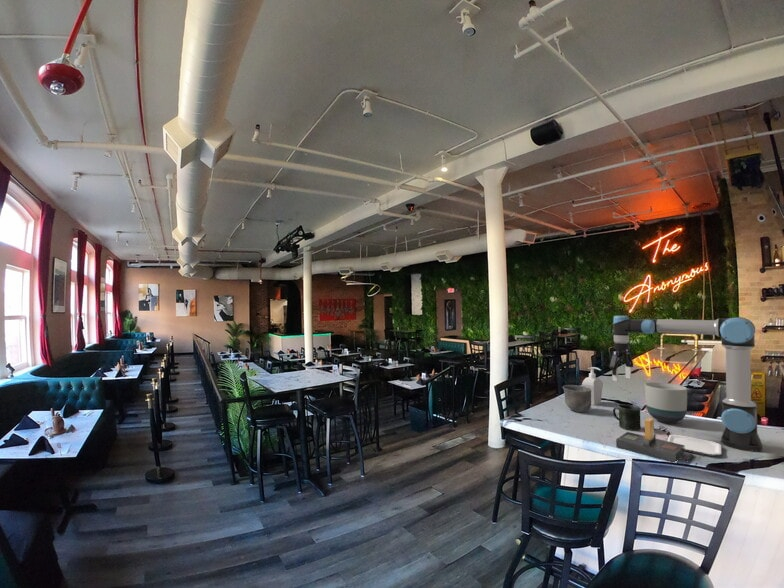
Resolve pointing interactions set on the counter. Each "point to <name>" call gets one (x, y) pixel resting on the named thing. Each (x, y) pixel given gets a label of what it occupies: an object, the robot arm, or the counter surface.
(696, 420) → the counter surface
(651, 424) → the lever
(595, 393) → the soap bottle
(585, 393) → the cup
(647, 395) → the planter
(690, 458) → the cord
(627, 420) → the mug
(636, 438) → the panel
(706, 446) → the plate
